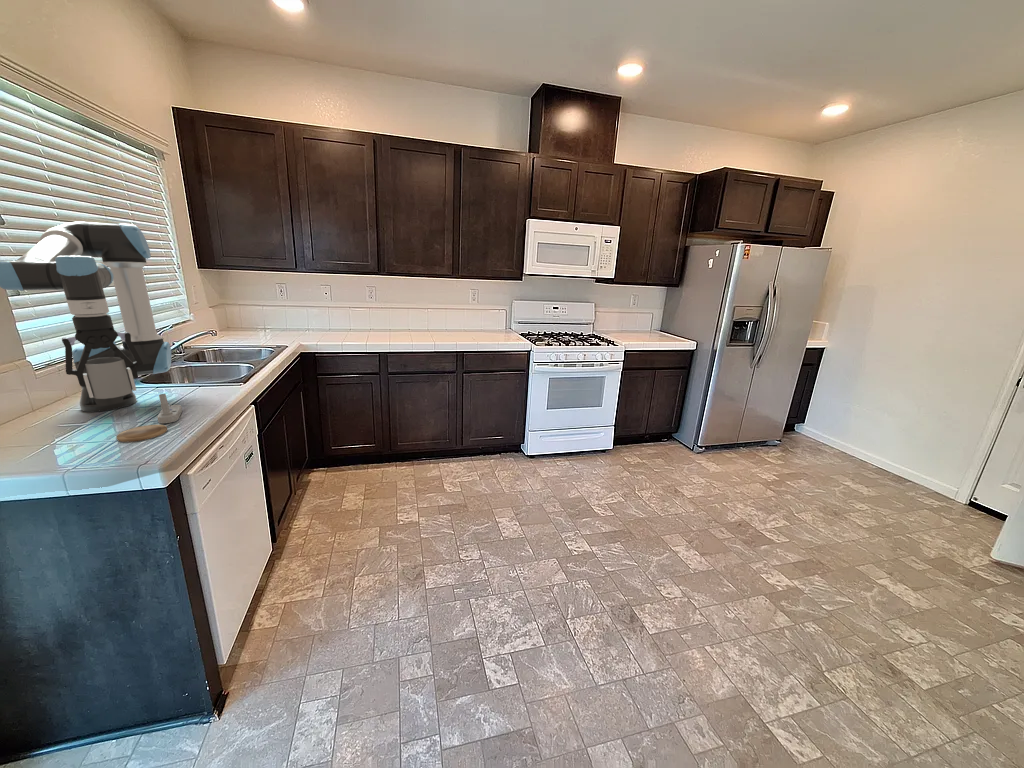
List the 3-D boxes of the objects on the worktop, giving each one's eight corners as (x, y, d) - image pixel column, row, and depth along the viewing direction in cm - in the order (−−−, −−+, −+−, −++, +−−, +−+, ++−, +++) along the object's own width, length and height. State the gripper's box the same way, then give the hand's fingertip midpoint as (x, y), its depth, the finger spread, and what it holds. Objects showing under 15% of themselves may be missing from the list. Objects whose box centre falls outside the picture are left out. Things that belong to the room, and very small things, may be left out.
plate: (114, 434, 129) (113, 431, 128) (163, 423, 137) (162, 421, 137) (119, 445, 121) (119, 442, 121) (171, 434, 130) (170, 431, 129)
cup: (136, 387, 124) (128, 356, 121) (127, 396, 117) (118, 362, 114) (99, 391, 120) (89, 358, 117) (88, 400, 114) (77, 365, 110)
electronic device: (177, 385, 148) (171, 395, 136) (183, 410, 151) (177, 422, 139) (158, 387, 146) (150, 397, 133) (165, 413, 148) (157, 425, 136)
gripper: (32, 320, 102) (60, 405, 109) (144, 313, 117) (162, 388, 124) (32, 316, 107) (59, 398, 114) (140, 310, 122) (157, 382, 129)
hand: (113, 392), depth 119 cm, fingers closed on cup, 8 cm apart
